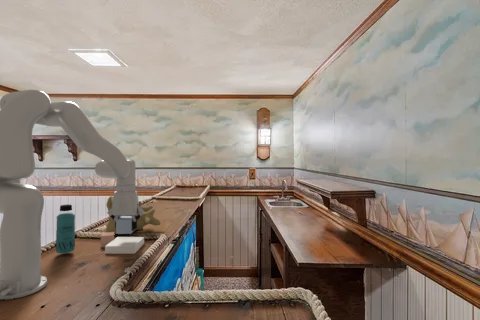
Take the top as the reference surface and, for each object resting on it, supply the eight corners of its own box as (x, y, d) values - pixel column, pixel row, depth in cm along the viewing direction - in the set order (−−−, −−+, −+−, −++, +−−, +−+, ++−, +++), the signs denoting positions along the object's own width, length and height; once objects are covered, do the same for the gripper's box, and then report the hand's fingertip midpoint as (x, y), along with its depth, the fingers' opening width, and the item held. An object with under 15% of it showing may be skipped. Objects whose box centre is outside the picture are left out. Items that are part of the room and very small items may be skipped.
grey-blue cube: (130, 233, 113) (130, 219, 112) (116, 233, 112) (116, 219, 112) (135, 229, 119) (135, 216, 118) (121, 229, 118) (121, 216, 118)
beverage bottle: (52, 255, 106) (52, 205, 106) (69, 250, 112) (69, 202, 111) (61, 258, 103) (61, 207, 103) (78, 253, 109) (78, 204, 108)
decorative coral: (81, 211, 131) (122, 177, 145) (104, 236, 145) (139, 203, 159) (111, 233, 118) (153, 193, 131) (133, 257, 132) (168, 219, 146)
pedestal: (134, 253, 110) (134, 246, 110) (104, 253, 109) (105, 246, 109) (144, 243, 122) (144, 237, 122) (117, 243, 121) (117, 236, 121)
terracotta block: (113, 246, 118) (113, 235, 118) (100, 247, 116) (100, 236, 116) (114, 242, 122) (114, 231, 122) (102, 243, 121) (102, 232, 120)
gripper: (101, 189, 111) (101, 232, 111) (143, 189, 111) (143, 232, 112) (109, 186, 118) (109, 227, 119) (149, 187, 119) (148, 227, 120)
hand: (126, 229), depth 115 cm, fingers closed on grey-blue cube, 6 cm apart
